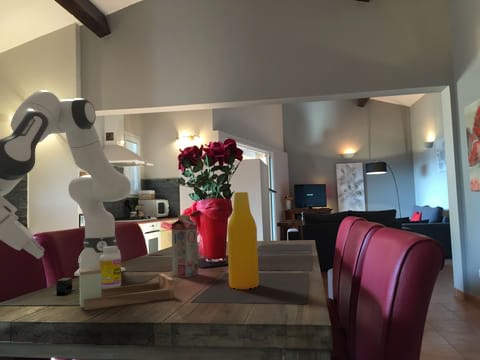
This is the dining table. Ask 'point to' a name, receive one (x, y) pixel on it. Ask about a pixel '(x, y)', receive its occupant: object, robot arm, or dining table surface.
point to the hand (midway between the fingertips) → (42, 254)
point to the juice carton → (184, 247)
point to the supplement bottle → (110, 267)
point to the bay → (133, 294)
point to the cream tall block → (89, 284)
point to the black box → (63, 287)
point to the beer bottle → (242, 245)
